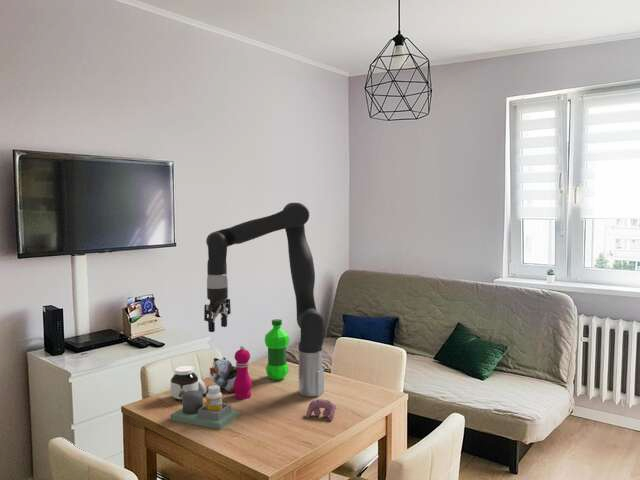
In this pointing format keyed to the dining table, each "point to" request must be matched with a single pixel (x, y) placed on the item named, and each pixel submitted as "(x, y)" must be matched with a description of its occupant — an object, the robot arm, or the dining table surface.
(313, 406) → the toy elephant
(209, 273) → the robot arm
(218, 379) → the lucky cat figurine
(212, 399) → the supplement bottle
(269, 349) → the plastic bottle
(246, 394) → the pepper mill
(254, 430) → the dining table surface
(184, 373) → the spread jar
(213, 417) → the desk organizer tray
